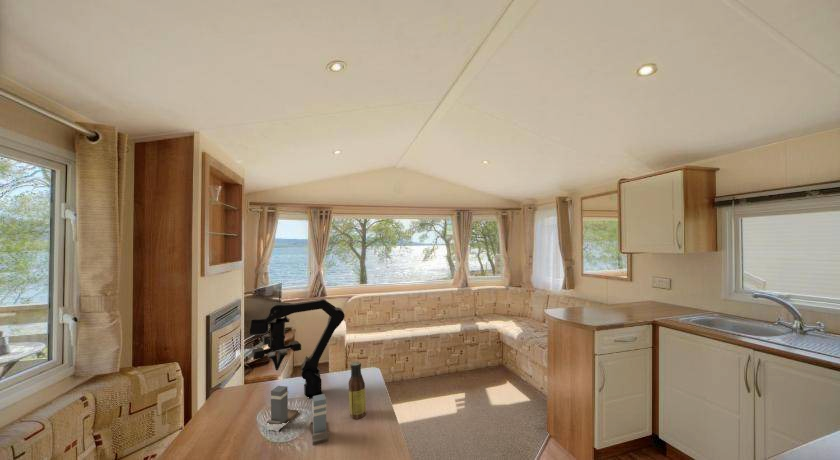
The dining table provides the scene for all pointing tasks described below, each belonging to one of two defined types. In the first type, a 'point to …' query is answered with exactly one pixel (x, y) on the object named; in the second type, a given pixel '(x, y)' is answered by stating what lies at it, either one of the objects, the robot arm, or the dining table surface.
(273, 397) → the one stripe post
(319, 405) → the two stripe post
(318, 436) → the rail
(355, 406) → the sauce bottle
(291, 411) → the rail
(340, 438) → the dining table surface
